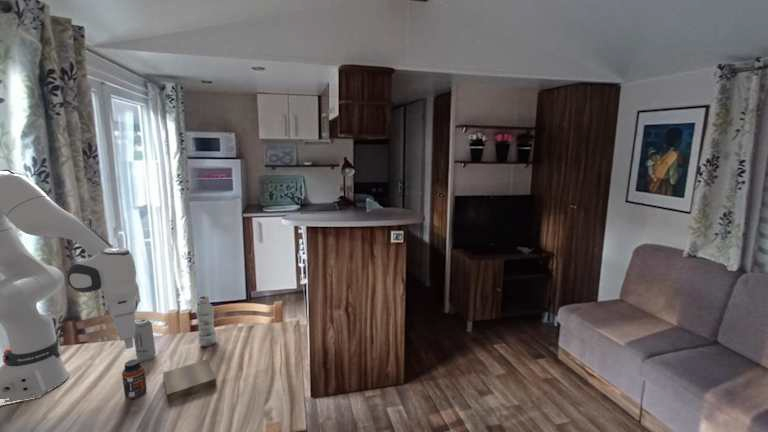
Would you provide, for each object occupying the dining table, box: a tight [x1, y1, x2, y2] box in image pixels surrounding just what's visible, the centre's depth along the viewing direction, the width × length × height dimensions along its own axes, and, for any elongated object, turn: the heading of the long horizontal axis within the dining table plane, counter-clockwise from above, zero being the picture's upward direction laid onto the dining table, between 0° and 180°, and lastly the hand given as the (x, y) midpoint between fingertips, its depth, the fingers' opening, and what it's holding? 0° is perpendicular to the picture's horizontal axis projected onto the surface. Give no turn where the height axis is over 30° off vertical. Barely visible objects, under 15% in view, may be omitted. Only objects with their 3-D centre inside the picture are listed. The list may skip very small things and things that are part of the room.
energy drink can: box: [133, 317, 156, 363], centre depth 140 cm, size 6×6×15 cm
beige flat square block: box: [162, 359, 217, 404], centre depth 125 cm, size 14×14×3 cm
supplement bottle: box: [121, 358, 148, 400], centre depth 119 cm, size 6×6×11 cm
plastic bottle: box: [195, 295, 218, 347], centre depth 149 cm, size 6×7×20 cm
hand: (129, 340), depth 117 cm, fingers open, 8 cm apart
